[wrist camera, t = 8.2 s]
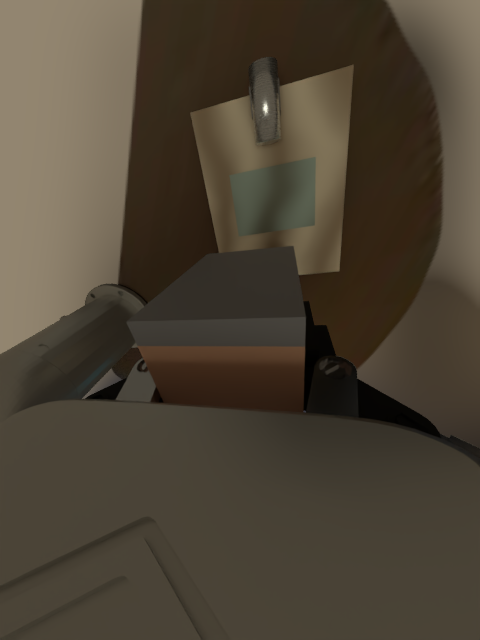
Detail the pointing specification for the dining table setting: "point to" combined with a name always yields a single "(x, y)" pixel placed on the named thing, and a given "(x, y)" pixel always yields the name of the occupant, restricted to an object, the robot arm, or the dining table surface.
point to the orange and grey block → (228, 333)
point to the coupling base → (280, 171)
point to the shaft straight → (265, 100)
